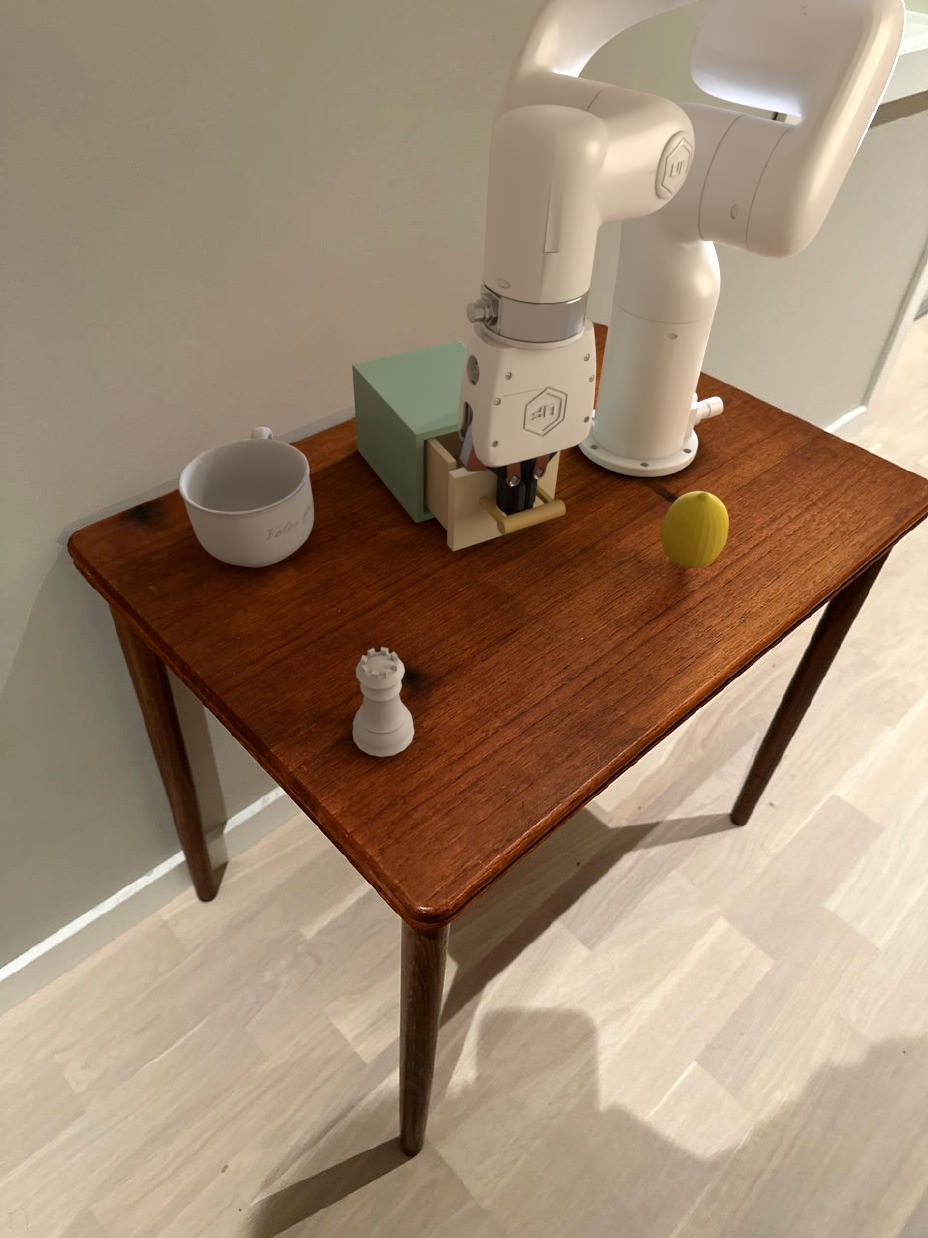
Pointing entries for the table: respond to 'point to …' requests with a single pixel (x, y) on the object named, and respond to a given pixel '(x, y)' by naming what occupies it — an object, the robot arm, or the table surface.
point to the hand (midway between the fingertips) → (514, 512)
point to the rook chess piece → (382, 706)
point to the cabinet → (407, 415)
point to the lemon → (695, 529)
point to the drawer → (477, 496)
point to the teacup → (249, 499)
